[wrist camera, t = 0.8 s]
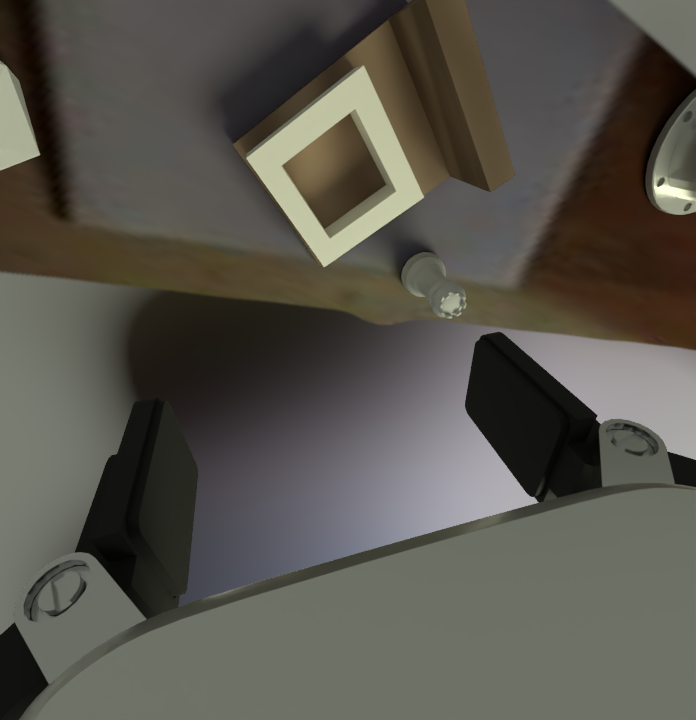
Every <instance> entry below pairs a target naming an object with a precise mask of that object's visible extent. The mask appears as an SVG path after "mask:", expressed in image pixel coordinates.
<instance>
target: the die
mask: <svg viewBox="0 0 696 720" xmlns="http://www.w3.org/2000/svg"><path fill="white" fill-rule="evenodd" d="M39 155H40V153H39V150H38V146H37V143H36V139H35V136H34V132H33V128H32V125H31V121H30V118H29V114H28V111H27V107H26V104H25V100H24V97H23V93H22V90H21V86H20V83H19V80H18V79H17V78H16V77H15V76H14V74H13V73H12V72H11V71H10V70H9V68H8V67H7V66H6V65H5V64H4V63H2V62H1V61H0V170H3V169H5V168H8V167H10V166H13V165H16V164H18V163H21V162H23V161H26V160H29V159H31V158H34V157H36V156H39Z"/></svg>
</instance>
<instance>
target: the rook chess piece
mask: <svg viewBox="0 0 696 720" xmlns="http://www.w3.org/2000/svg"><path fill="white" fill-rule="evenodd" d="M401 278H402V283H403V285H404V286H405V288H406V289H407V290H409V292H410V293H412V294H414V295H416V296H420V297H426V298H427V299H428V302H429V303H430V305H431V307H432V311H433V312H434V313H435V315H438V316H440V317H446V318H452V315H454V314H455V315H456V316H459V315H460V314H461V312H460V309H461V308H465V307H466V304H467V303H466V302H465V299H466V294H465V291H464V289H463V287H461V286H460V285H458V284H454V283H453V282H452V281H450V280H447V279H446V272H445V266H444V264H443V263H442V261H441V260H440V259H439V258H438V256H436V255H434V254H433V253H430V252H422V253H419V254H416V255H414V256H413V257H412V258H410V259H409V260H408V261H407V262H406V264H405V266H404V267H403V270H402V275H401Z"/></svg>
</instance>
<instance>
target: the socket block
mask: <svg viewBox="0 0 696 720" xmlns="http://www.w3.org/2000/svg"><path fill="white" fill-rule="evenodd" d="M349 113H350V115H351V117H352V119H353V121H354V123H355V125H356V126H357V128H358V130H359V132H360V134H361V136H362V138H363V140H364V142H365V144H366V146H367V148H368V150H369V152H370V154H371V156H372V158H373V160H374V162H375V164H376V166H377V168H378V170H379V171H380V173H381V175H382V177H383V179H384V181H385V183H386V185H385V186H384V187H382V188H381V189H379V190H378V191H377V192H375V193H374V194H373V195H371V196H370V197H368V198H367V199H366V200H364V201H363V202H361V203H360V204H359V205H357V206H356V207H354V208H353V209H352V210H350V211H349V212H348V213H346V214H345V215H343V216H342V217H341V218H339V219H338V220H336V221H335V222H334V223H332V224H331V225H329V226H328V227H327V228H325V229H324V227H323V226H322V224H321V223H320V221H319V220H318V218H317V217H316V215H315V214H314V212H313V211H312V209H311V208H310V206H309V205H308V203H307V202H306V200H305V199H304V197H303V196H302V194H301V193H300V191H299V190H298V188H297V187H296V185H295V184H294V182H293V181H292V179H291V178H290V176H289V175H288V173H287V172H286V170H285V169H284V167H283V166H282V165H283V164H284V163H286V162H287V161H288V160H290V159H291V158H292V157H293V156H295V155H296V154H297V153H299V152H300V151H301V150H302V149H304V148H305V147H306V146H308V145H309V144H310V143H312V142H313V141H314V140H315V139H317V138H318V137H319V136H321V135H322V134H323V133H325V132H326V131H327V130H328V129H330V128H331V127H332V126H334V125H335V124H336V123H338V122H339V121H340V120H341V119H343V118H344V117H345V116H347V115H348V114H349ZM246 159H247V160H248V162H249V163H250V164H251V166H252V167H253V169H254V170H255V171H256V173H257V174H258V176H259V177H260V178H261V180H262V181H263V183H264V184H265V185H266V187H267V188H268V190H269V191H270V192H271V194H272V195H273V197H274V198H275V199H276V201H277V202H278V204H279V205H280V206H281V208H282V209H283V210H284V212H285V213H286V215H287V216H288V217H289V219H290V220H291V222H292V223H293V224H294V226H295V227H296V229H297V230H298V231H299V233H300V234H301V236H302V237H303V238H304V240H305V241H306V243H307V244H308V245H309V247H310V248H311V250H312V251H313V252H314V254H315V255H316V256H317V258H318V259H319V261H320V262H321V263H322V265H323V266H324V267H325V266H327V265H328V264H330V263H331V262H332V261H334V260H335V259H337V258H338V257H340V256H341V255H343V254H344V253H345V252H347V251H348V250H350V249H351V248H353V247H354V246H355V245H357V244H358V243H360V242H361V241H363V240H364V239H365V238H367V237H368V236H370V235H371V234H373V233H374V232H375V231H377V230H378V229H380V228H381V227H383V226H384V225H385V224H387V223H388V222H390V221H391V220H393V219H394V218H395V217H397V216H398V215H400V214H401V213H403V212H404V211H405V210H407V209H408V208H410V207H411V206H413V205H414V204H415V203H417V202H418V201H420V200H421V199H423V198H424V196H423V194H422V192H421V189H420V187H419V185H418V183H417V181H416V179H415V176H414V174H413V172H412V170H411V168H410V165H409V163H408V161H407V159H406V157H405V154H404V152H403V150H402V148H401V146H400V144H399V141H398V139H397V137H396V135H395V133H394V130H393V128H392V126H391V124H390V122H389V119H388V117H387V115H386V113H385V111H384V108H383V106H382V104H381V102H380V100H379V98H378V95H377V93H376V91H375V89H374V87H373V84H372V82H371V80H370V78H369V76H368V73H367V71H366V69H365V67H364V65H363V66H360V67H356V68H354V69H353V70H351V71H350V72H349V73H348V74H346V75H345V76H344V77H343V78H341V79H340V80H339V81H337V82H336V83H335V84H334V85H332V86H331V87H330V88H329V89H327V90H326V91H325V92H324V93H322V94H321V95H320V96H319V97H317V98H316V99H315V100H314V101H312V102H311V103H310V104H308V105H307V106H306V107H305V108H303V109H302V110H301V111H300V112H298V113H297V114H296V115H295V116H293V117H292V118H291V119H290V120H288V121H287V122H286V123H284V124H283V125H282V126H281V127H279V128H278V129H277V130H276V131H274V132H273V133H272V134H271V135H269V136H268V137H267V138H266V139H264V140H263V141H262V142H261V143H259V144H258V145H257V146H255V147H254V148H253V149H252V150H250V151H249V152H248V153H247V155H246Z"/></svg>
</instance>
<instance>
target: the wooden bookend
mask: <svg viewBox="0 0 696 720" xmlns="http://www.w3.org/2000/svg"><path fill="white" fill-rule="evenodd" d="M363 65H364V67H365V69H366V71H367V73H368V76H369V78H370V80H371V82H372V84H373V87H374V89H375V91H376V93H377V95H378V98H379V100H380V102H381V104H382V106H383V108H384V111H385V113H386V115H387V117H388V119H389V122H390V124H391V126H392V128H393V130H394V133H395V135H396V137H397V139H398V141H399V144H400V146H401V148H402V150H403V152H404V154H405V157H406V159H407V161H408V163H409V165H410V168H411V170H412V172H413V174H414V176H415V179H416V181H417V183H418V185H419V187H420V189H421V192H422V194H423V195H425V194H426V193H427V192H429V191H430V190H432V189H433V188H435V187H436V186H437V185H439V184H440V183H442V182H443V181H445V180H446V179H447V178H449V177H450V176H451V177H453V178H456V179H458V180H461V181H463V182H466V183H469V184H471V185H474V186H476V187H479V188H481V189H484V190H486V191H489V192H492V191H493V190H495V189H496V188H498V187H499V186H501V185H502V184H504V183H505V182H507V181H508V180H509V179H511V178H512V177H514V176H515V173H514V170H513V166H512V163H511V159H510V156H509V152H508V149H507V145H506V142H505V138H504V135H503V132H502V128H501V125H500V121H499V118H498V114H497V111H496V107H495V104H494V100H493V97H492V93H491V90H490V86H489V83H488V79H487V76H486V72H485V69H484V65H483V62H482V59H481V55H480V52H479V48H478V45H477V41H476V38H475V34H474V31H473V27H472V24H471V20H470V17H469V13H468V10H467V6H466V3H465V0H412V1H411V2H409V3H408V4H406V5H405V6H404V7H403V8H401V9H400V10H399V11H398V12H396V13H395V14H394V15H393V16H391V17H390V18H389V19H388V20H386V21H385V22H384V23H383V24H381V25H380V26H379V27H378V28H376V29H375V30H374V31H373V32H372V33H370V34H369V35H368V36H367V37H365V38H364V39H363V40H362V41H360V42H359V43H358V44H357V45H355V46H354V47H353V48H352V49H350V50H349V51H348V52H347V53H345V54H344V55H343V56H342V57H340V58H339V59H338V60H337V61H335V62H334V63H333V64H332V65H330V66H329V67H328V68H327V69H326V70H324V71H323V72H322V73H321V74H319V75H318V76H317V77H316V78H314V79H313V80H312V81H311V82H309V83H308V84H307V85H306V86H304V87H303V88H302V89H301V90H299V91H298V92H297V93H296V94H294V95H293V96H292V97H291V98H289V99H288V100H287V101H286V102H284V103H283V104H282V105H281V106H280V107H278V108H277V109H276V110H275V111H273V112H272V113H271V114H270V115H268V116H267V117H266V118H265V119H263V120H262V121H261V122H260V123H258V124H257V125H256V126H255V127H253V128H252V129H251V130H250V131H248V132H247V133H246V134H245V135H243V136H242V137H241V138H240V139H238V140H237V141H236V142H235V143H233V146H234V147H235V149H236V150H237V151H238V153H239V154H240V156H241V157H242V158H243V160H244V161H245V163H246V164H247V165H248V167H249V168H250V169H251V171H252V172H253V174H254V175H255V176H256V178H257V179H258V181H259V182H260V183H261V185H262V186H263V187H264V189H265V190H266V192H267V193H268V194H269V196H270V197H271V199H272V200H273V201H274V203H275V204H276V205H277V207H278V208H279V210H280V211H281V212H282V214H283V215H284V216H285V218H286V219H287V221H288V222H289V223H290V225H291V226H292V228H293V229H294V230H295V232H296V233H297V234H298V236H299V237H300V239H301V240H302V241H303V243H304V244H305V246H306V247H307V248H308V250H309V251H310V252H311V254H312V255H313V257H314V258H315V259H316V261H317V262H318V264H319V265H320V266H321V267H322V266H323V265H322V263H321V262H320V261H319V259H318V258H317V256H316V255H315V254H314V252H313V251H312V250H311V248H310V247H309V245H308V244H307V243H306V241H305V240H304V238H303V237H302V236H301V234H300V233H299V231H298V230H297V229H296V227H295V226H294V224H293V223H292V222H291V220H290V219H289V217H288V216H287V215H286V213H285V212H284V210H283V209H282V208H281V206H280V205H279V204H278V202H277V201H276V199H275V198H274V197H273V195H272V194H271V192H270V191H269V190H268V188H267V187H266V185H265V184H264V183H263V181H262V180H261V178H260V177H259V176H258V174H257V173H256V171H255V170H254V169H253V167H252V166H251V164H250V163H249V162H248V160H247V159H246V155H247V153H248V152H249V151H250V150H252V149H253V148H254V147H255V146H257V145H258V144H259V143H261V142H262V141H263V140H264V139H266V138H267V137H268V136H269V135H271V134H272V133H273V132H274V131H276V130H277V129H278V128H279V127H281V126H282V125H283V124H284V123H286V122H287V121H288V120H290V119H291V118H292V117H293V116H295V115H296V114H297V113H298V112H300V111H301V110H302V109H303V108H305V107H306V106H307V105H308V104H310V103H311V102H312V101H314V100H315V99H316V98H317V97H319V96H320V95H321V94H322V93H324V92H325V91H326V90H327V89H329V88H330V87H331V86H332V85H334V84H335V83H336V82H337V81H339V80H340V79H341V78H343V77H344V76H345V75H346V74H348V73H349V72H350V71H351V70H353V69H354V68H356V67H360V66H363ZM282 166H283V167H284V169H285V170H286V172H287V173H288V175H289V176H290V178H291V179H292V181H293V182H294V184H295V185H296V187H297V188H298V190H299V191H300V193H301V194H302V196H303V197H304V199H305V200H306V202H307V203H308V205H309V206H310V208H311V209H312V211H313V212H314V214H315V215H316V217H317V218H318V220H319V221H320V223H321V224H322V226H323V227H324V229H325V228H327V227H328V226H329V225H331V224H332V223H334V222H335V221H336V220H338V219H339V218H341V217H342V216H343V215H345V214H346V213H348V212H349V211H350V210H352V209H353V208H354V207H356V206H357V205H359V204H360V203H361V202H363V201H364V200H366V199H367V198H368V197H370V196H371V195H373V194H374V193H375V192H377V191H378V190H379V189H381V188H382V187H384V186H385V185H386V183H385V181H384V179H383V177H382V175H381V173H380V171H379V170H378V168H377V166H376V164H375V162H374V160H373V158H372V156H371V154H370V152H369V150H368V148H367V146H366V144H365V142H364V140H363V138H362V136H361V134H360V132H359V130H358V128H357V126H356V125H355V123H354V121H353V119H352V117H351V115H350V113H349V114H348V115H347V116H345V117H344V118H343V119H341V120H340V121H339V122H338V123H336V124H335V125H334V126H332V127H331V128H330V129H328V130H327V131H326V132H325V133H323V134H322V135H321V136H319V137H318V138H317V139H315V140H314V141H313V142H312V143H310V144H309V145H308V146H306V147H305V148H304V149H302V150H301V151H300V152H299V153H297V154H296V155H295V156H293V157H292V158H291V159H290V160H288V161H287V162H286V163H284V164H283V165H282Z"/></svg>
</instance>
